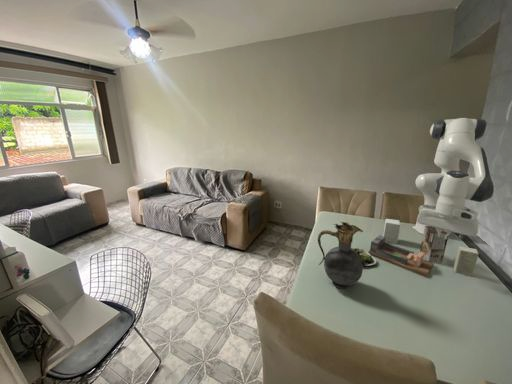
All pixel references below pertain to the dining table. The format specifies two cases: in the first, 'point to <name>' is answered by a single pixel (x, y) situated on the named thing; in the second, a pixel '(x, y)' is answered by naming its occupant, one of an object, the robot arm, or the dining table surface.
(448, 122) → the robot arm
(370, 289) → the dining table surface
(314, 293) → the dining table surface
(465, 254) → the skincare box
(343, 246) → the pitcher
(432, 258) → the coffee box
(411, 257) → the block
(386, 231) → the supplement box
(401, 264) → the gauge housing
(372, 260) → the salad plate
